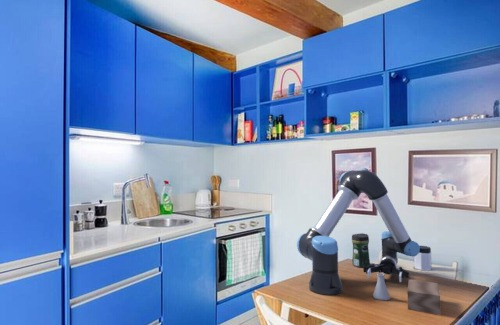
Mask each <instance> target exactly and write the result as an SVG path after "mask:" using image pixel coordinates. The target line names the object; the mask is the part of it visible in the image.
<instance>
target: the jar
mask: <svg viewBox="0 0 500 325" xmlns="http://www.w3.org/2000/svg"><path fill="white" fill-rule="evenodd" d="M419 247H420V251H419V253H418V255H416V256H414V257H413V258H414V269H417V270H419V271H428V272H429V271H431V270H432V250H431V247H430V246H426V245H419Z"/></svg>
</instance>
